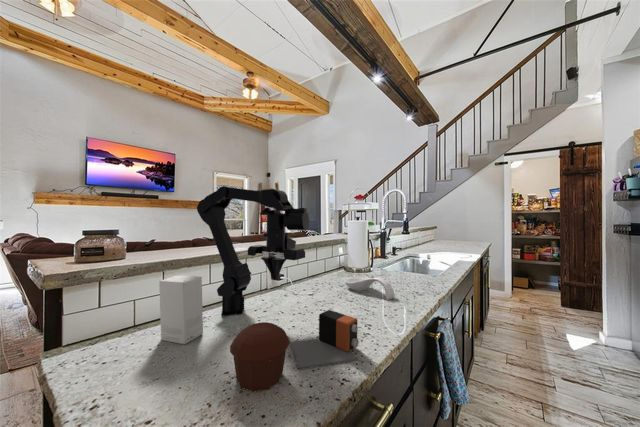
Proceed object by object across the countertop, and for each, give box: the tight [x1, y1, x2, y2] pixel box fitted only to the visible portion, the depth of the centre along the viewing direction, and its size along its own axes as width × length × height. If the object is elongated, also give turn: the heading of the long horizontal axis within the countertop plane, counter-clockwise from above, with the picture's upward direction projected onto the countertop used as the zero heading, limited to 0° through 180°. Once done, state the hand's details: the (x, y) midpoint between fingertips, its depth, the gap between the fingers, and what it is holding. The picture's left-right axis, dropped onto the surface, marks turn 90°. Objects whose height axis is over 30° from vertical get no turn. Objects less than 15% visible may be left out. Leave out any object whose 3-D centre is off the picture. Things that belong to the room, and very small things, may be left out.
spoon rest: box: [344, 276, 396, 301], centre depth 108 cm, size 24×12×7 cm, turn 38°
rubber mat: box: [290, 337, 358, 370], centre depth 60 cm, size 13×11×1 cm
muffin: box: [229, 321, 291, 393], centre depth 51 cm, size 12×11×10 cm
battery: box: [318, 309, 359, 352], centre depth 63 cm, size 4×7×10 cm
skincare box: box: [158, 274, 204, 345], centre depth 67 cm, size 8×7×16 cm
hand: (275, 279), depth 80 cm, fingers closed
